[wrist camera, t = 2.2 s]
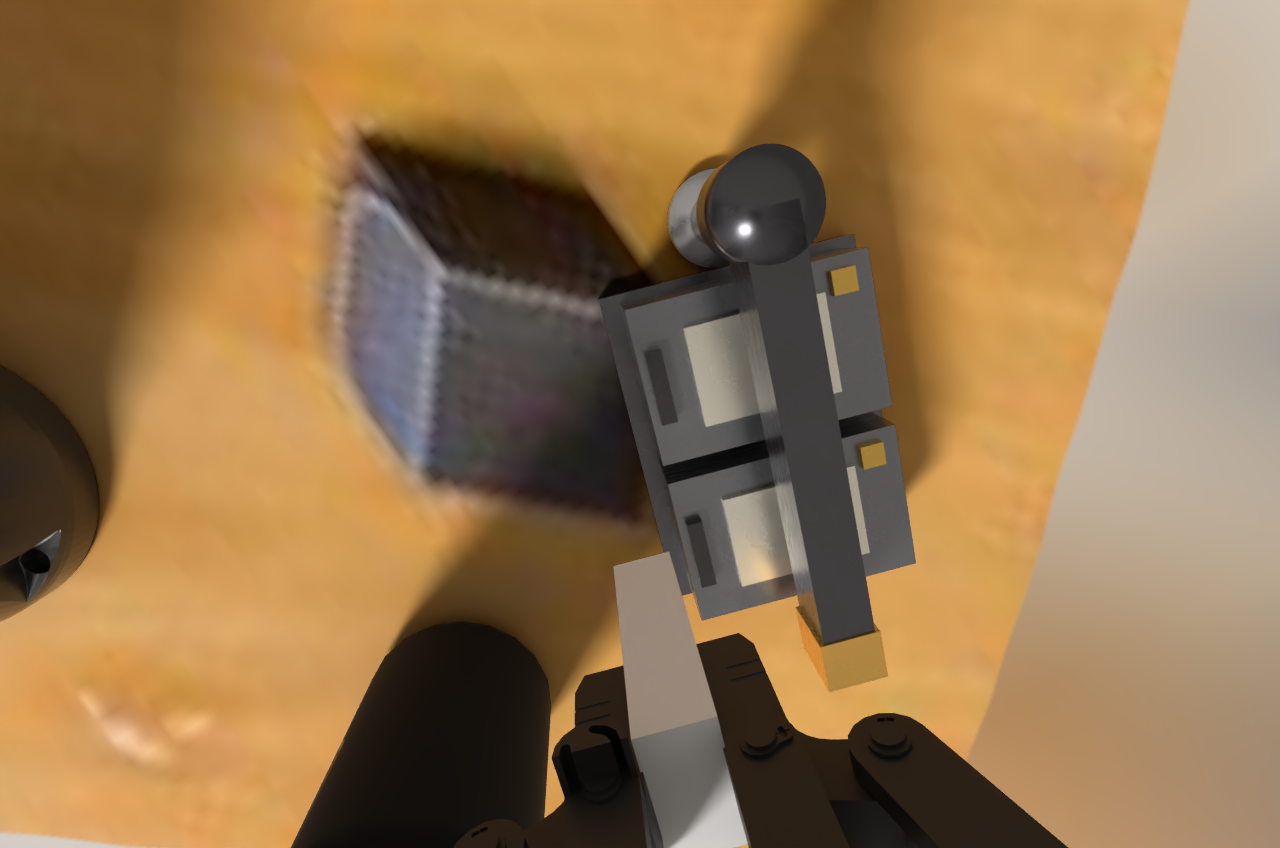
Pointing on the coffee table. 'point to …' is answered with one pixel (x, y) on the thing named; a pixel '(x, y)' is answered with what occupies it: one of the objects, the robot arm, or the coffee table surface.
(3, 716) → the coffee table surface
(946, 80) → the coffee table surface
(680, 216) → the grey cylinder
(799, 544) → the swing arm
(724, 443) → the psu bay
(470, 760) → the coffee jar
